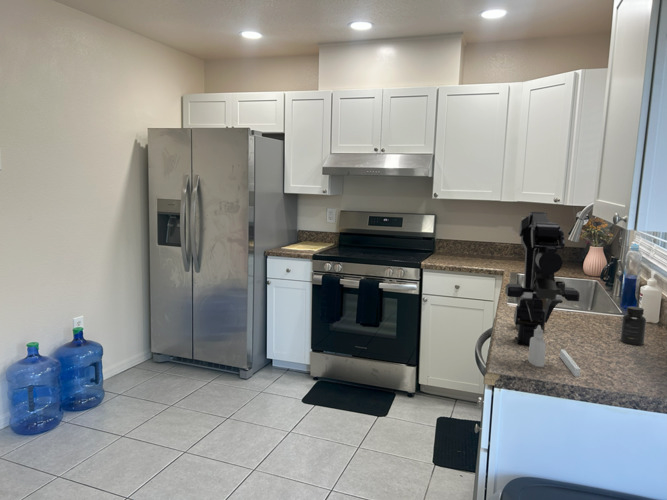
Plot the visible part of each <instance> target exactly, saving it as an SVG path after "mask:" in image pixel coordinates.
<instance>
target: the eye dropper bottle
mask: <svg viewBox="0 0 667 500" xmlns="http://www.w3.org/2000/svg"><path fill="white" fill-rule="evenodd" d="M528 346H529V348H528V359H527V360H528V362H529V364H531V365H533V366H535V367H541V368H543V367H545V361H546V348H547V343H546V340H545V339H544V333H543V330H542V329H541V326H540V325H538V327H537V329H535V330H534V337H531V339H530V345H528Z"/></svg>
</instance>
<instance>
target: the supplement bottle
mask: <svg viewBox="0 0 667 500" xmlns="http://www.w3.org/2000/svg"><path fill="white" fill-rule="evenodd" d="M643 315H644V308H643V307H639V306H633V305H632V306H631V305H630V306H627V307H626V314H624V315H623V316H622V319H621V320H622V321H621V331H620V332H621V333H620V341H621V342H622V343H624V344H627V345H631V346H642V345H644V344H645V338H646V336H645V335H646V326H647V319H646V317H645V316H643Z"/></svg>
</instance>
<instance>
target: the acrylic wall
mask: <svg viewBox="0 0 667 500" xmlns="http://www.w3.org/2000/svg"><path fill="white" fill-rule="evenodd" d="M559 358H560V359H561V361H562V362H563V363H564V365H565V366H566V368H567V369H568V370H569V371H570V373H571V374H572V375H573V377H576V378H580V374H581V368H580V367H579V365H577V363H576V362H575V361H574V359H573V358H572V356H570V355H569V354H568V352H567V350H566V349H562V348H561V349H560V351H559Z"/></svg>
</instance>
